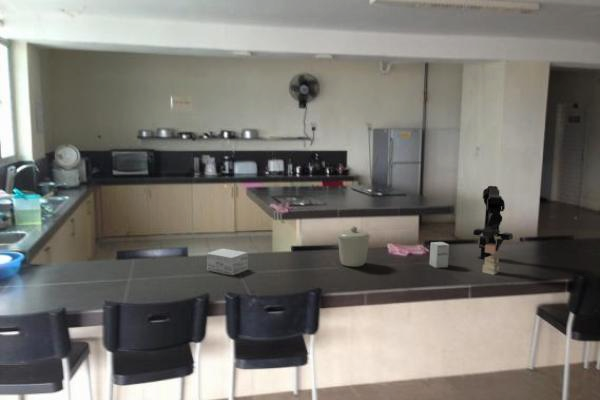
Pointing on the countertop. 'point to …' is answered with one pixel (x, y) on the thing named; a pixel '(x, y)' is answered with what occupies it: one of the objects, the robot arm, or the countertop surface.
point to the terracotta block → (490, 248)
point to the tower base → (490, 269)
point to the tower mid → (491, 261)
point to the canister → (353, 247)
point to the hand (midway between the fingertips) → (491, 250)
